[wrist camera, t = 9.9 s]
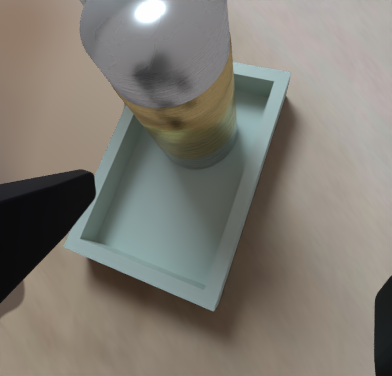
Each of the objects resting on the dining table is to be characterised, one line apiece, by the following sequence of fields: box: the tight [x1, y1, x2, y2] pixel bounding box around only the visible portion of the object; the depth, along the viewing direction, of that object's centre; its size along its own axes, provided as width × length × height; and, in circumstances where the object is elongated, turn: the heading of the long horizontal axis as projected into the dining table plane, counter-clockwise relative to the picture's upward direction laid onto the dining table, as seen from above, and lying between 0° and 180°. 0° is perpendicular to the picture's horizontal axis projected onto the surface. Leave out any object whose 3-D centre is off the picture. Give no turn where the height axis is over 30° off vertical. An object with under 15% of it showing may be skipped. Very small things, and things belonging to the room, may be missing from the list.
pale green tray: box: [64, 62, 291, 312], centre depth 22 cm, size 18×12×3 cm, turn 160°
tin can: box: [80, 0, 237, 169], centre depth 17 cm, size 7×7×12 cm
